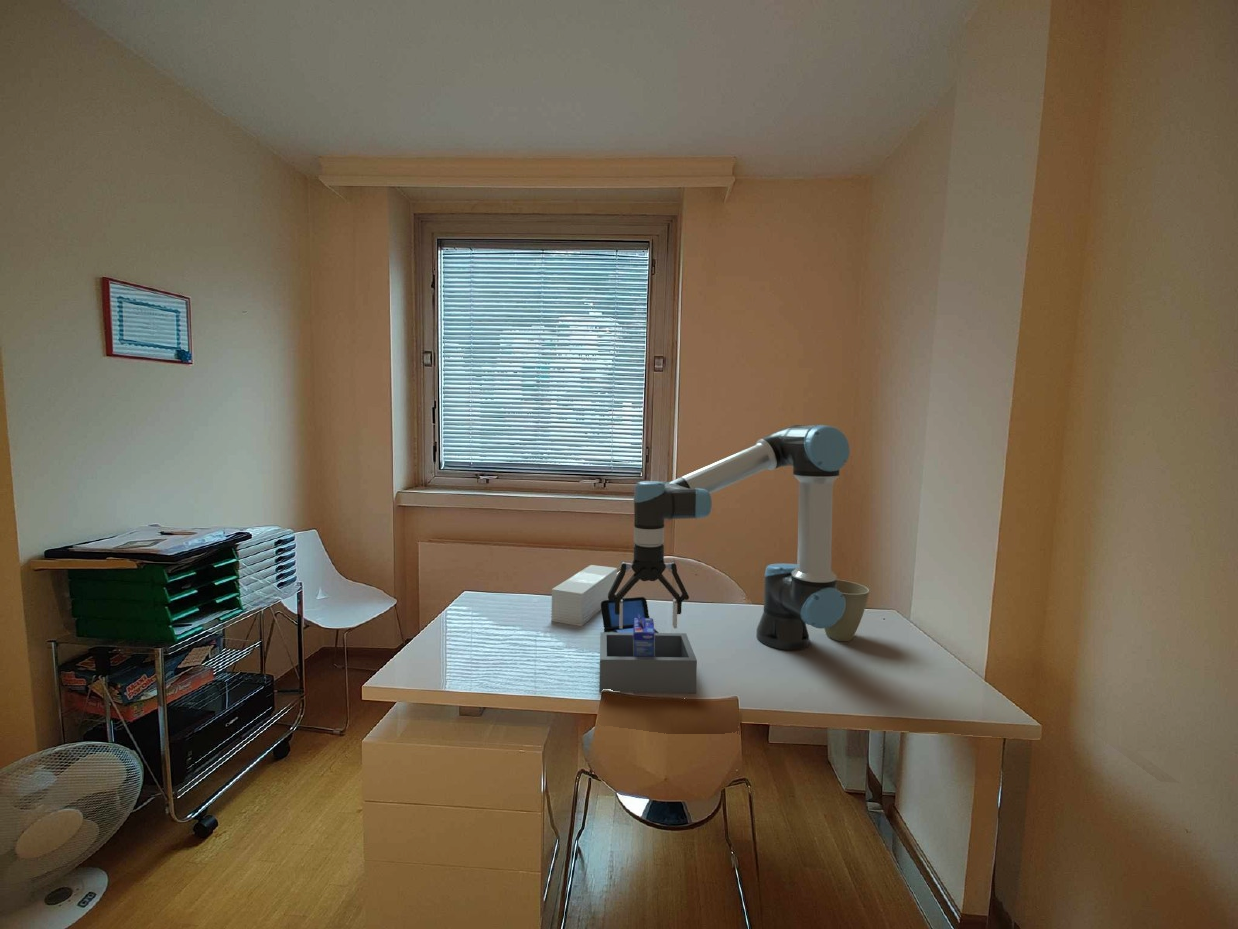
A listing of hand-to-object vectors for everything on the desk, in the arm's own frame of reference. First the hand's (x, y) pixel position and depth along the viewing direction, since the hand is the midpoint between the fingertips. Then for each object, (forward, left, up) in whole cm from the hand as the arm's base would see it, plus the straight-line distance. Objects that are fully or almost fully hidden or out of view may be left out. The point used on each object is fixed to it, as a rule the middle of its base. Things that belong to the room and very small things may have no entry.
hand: (647, 626), depth 128 cm
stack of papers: (+17, -49, -13) cm, 53 cm away
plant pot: (-62, -26, -13) cm, 69 cm away
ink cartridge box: (+1, 0, -12) cm, 12 cm away
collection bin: (0, 0, -13) cm, 13 cm away
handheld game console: (+3, -26, -13) cm, 30 cm away
